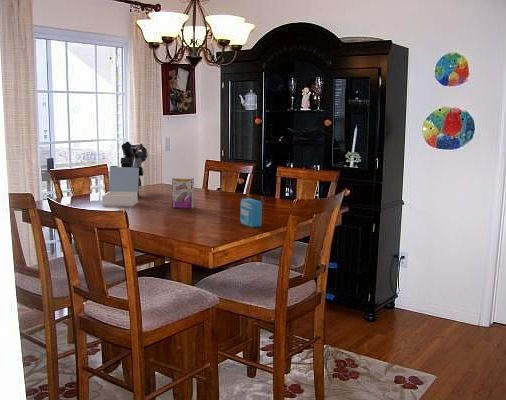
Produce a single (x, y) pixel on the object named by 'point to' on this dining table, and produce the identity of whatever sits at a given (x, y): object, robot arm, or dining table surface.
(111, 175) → the lid
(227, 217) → the dining table surface
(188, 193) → the candy bar box
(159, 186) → the dining table surface
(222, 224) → the dining table surface
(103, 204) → the storage box
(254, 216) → the data package
